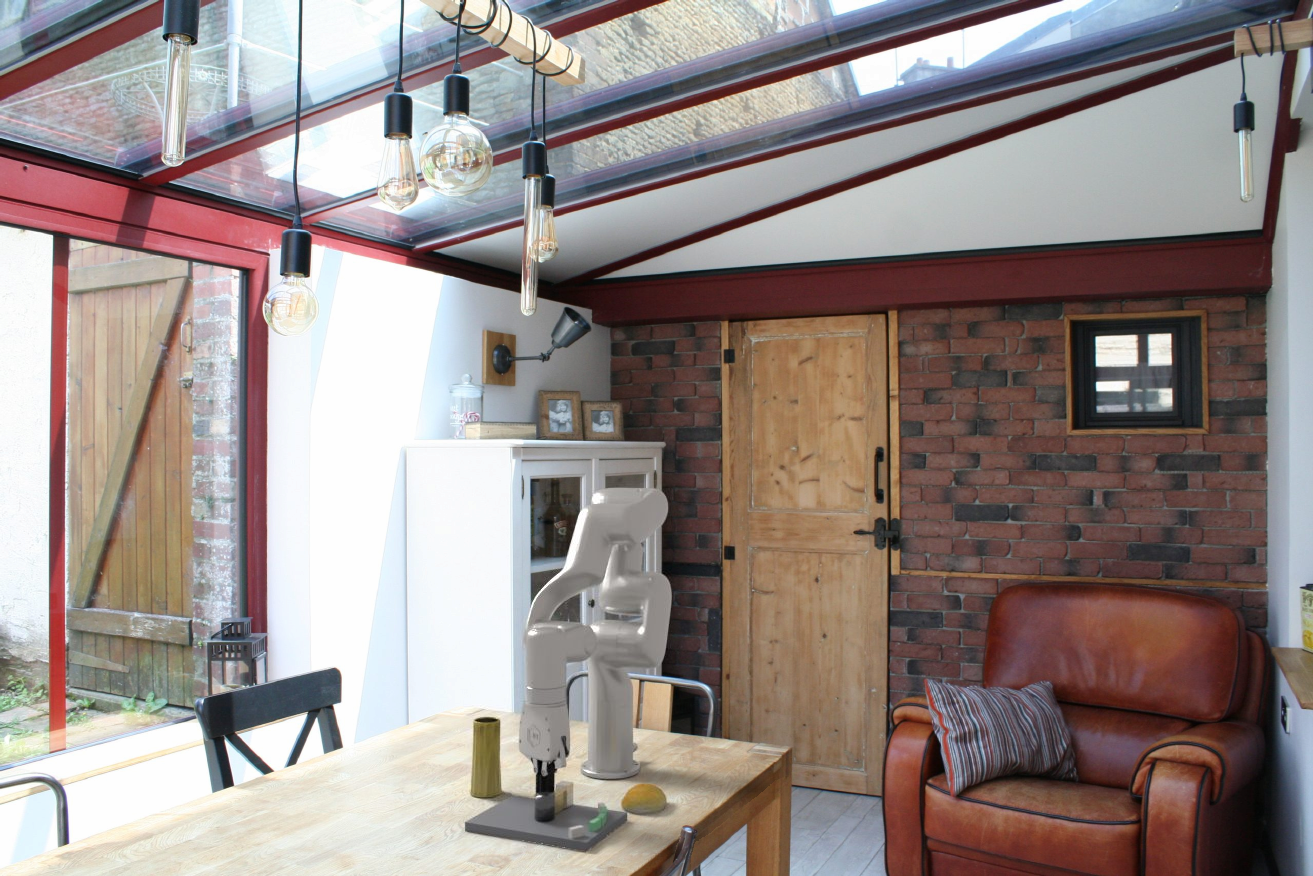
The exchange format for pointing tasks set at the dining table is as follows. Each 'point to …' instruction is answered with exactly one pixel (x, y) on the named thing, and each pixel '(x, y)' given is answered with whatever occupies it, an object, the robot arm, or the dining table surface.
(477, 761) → the vase
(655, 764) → the dining table surface
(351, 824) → the dining table surface
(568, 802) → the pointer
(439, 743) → the dining table surface
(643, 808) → the bread roll
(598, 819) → the grey flat slab
